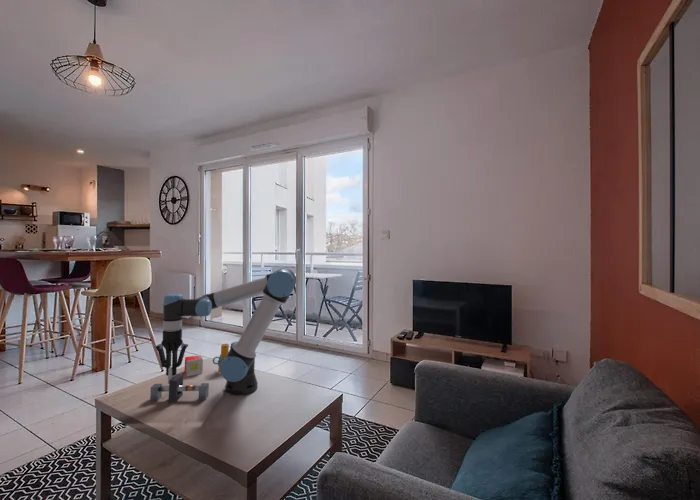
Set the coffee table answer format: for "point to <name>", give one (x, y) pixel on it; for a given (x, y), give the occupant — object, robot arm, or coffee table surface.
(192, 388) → the rail
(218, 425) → the coffee table surface
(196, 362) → the red gray cube
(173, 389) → the dark gray notched block
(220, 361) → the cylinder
